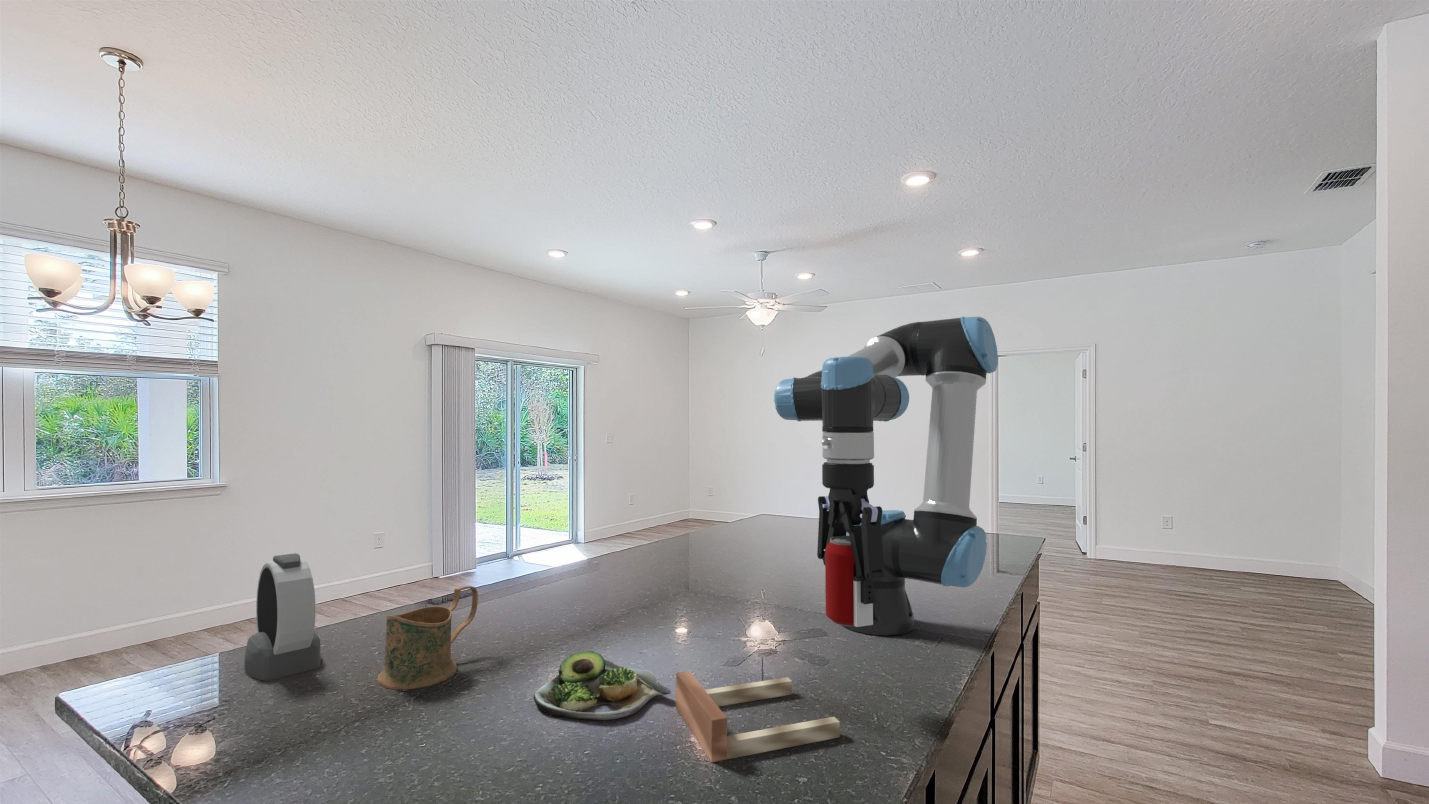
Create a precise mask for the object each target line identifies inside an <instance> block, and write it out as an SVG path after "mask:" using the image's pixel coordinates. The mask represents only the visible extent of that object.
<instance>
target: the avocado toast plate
mask: <svg viewBox="0 0 1429 804" xmlns="http://www.w3.org/2000/svg"><path fill="white" fill-rule="evenodd" d="M557 672H558V675H556V676H555V677H554V678H552V679H551V680H550V681H548V682H546V683H545V684H544V685H542V686H541V687H539V688H538V689H537V690H536V691H535V693H534V695H533V701H534V703H535V704H536V705H535V706H537V707H538V708H539V709H540V710H541V711H543V712H544V713H547V714H549V715H552V716H557V717H564V718H565V717H567V718H573V719H580V720H595V721H596V720H597V721H599V720H602V721H610V720H611V721H612V720H619V719H622V718H625V717H629V716H632V715H633V714H635V713H637V712H639V711H640V710H641V709H642V708H644V706H645V705H646V704H647V703H648V702H649V701H650V700H651V699H653V698H655V697H656V696H666V695H669V694H672V691H671V689H669V688H667V687H666V686H664V685H661V684H659V680H658V678H657V676H656V674H654V673H653V672H651V671H650V670H646V669H637V668H630V667H629V668H628V667H625V666H620V665H617V664H615V663H614V662H612V661H609V660H606V659H605V658H604V657H603V656H602V655H601V654H600V653H598V652H596V651H593V650H592V651H591V650H582V651H579V652H576V653H573V654H572V655H570V656H569V657H567V658H565V659H564V660H563V661H562V662H561V663H560V665H559V669H558V670H557ZM598 705H610V706H619V708H618V709H614V710H607V711H606V710H605V711H601V712H583V711H584V710H588V709H590V708H592V707H596V706H598Z"/></svg>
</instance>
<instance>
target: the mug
mask: <svg viewBox="0 0 1429 804" xmlns="http://www.w3.org/2000/svg"><path fill="white" fill-rule="evenodd" d="M468 589H470V590H471V596H472V597H471V598H472V601H471V608H470V611H469V614H468V617H467V618H466V619H465V621H463V622H462V623H461V624H460V625H459V626H457V628H456V629H455V630H454V631H453V632H452V618H453V617H452V613H453V611H454V610H455V609H456V608H457V606H458V603H460V602H459V601H460V596H461V592H462V591H464V590H468ZM453 591H454V593H453V594H454V595H453V600H452V602H451V604H450V605H449V607H446V606H439V605H437V606H436V605H434V606H433V605H432V606H425V607H421V608H417V609H415V610H411V611H408V612H404V613H401V614H396V615H395V614H394V615H386V618H385V619H386V621H385V622H386V625H385V626H386V628H385V631H386V632H385V646H384V651H385V652H384V653H385V657H384V668H383V669H382V670H381V671H380V672H379V674H378V676H377V683H378V684H379V686H381V687H382V688H385V689H390V690H413V689H420V688H425V687H430V686H433V685H435V684H439V683H441V682H443V681H446V680H448V679H450V678H452V676H454V675H455V673H457V664H456V662H455V661H454V660H453V659H452V658H451V657H452V656H451V654H452V653H451V651H452V650H451V649H452V648H451V647H452V644H453V643H454V642H455V640H456V639H457V637H458V635H459V634H460V633H461V632H462V631H463V630H464V629H465V628H466V627H467V626H469V624H471V622H472V621H473V620H474V618H475V615H476V613H477V609H478V603H479V593H478V590H477V588H476V587H475V586H472V585H462V586H459V587H456V588H454V589H453Z"/></svg>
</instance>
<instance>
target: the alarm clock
mask: <svg viewBox="0 0 1429 804" xmlns="http://www.w3.org/2000/svg"><path fill="white" fill-rule="evenodd" d="M314 585H315V584H314V579H313V573H312V571H311V568H310V565H309V564H308V561H306V559H304V557H301V556H300V554H299V553H296V552H295V553H287V554H278V555H274V556H273V557H272V560H271V561H267V562H265V563H264V565H263V566H262V567H261V569H260V572H259V576H258V582H257V589H256V606H255V607H256V613H255V615H256V630H257V632H256V633H254V634H252V635H251V636H249V638H248V639H247V642H246V648H245V652H244V661H243V662H244V664H243V667H244V668H243V669H244V673H246V674H247V675H248V676H249V677H251V678H254V679H256V680H261V681H271V680H275V679H280V678H283V677H287V676H291V675H296V674H300V673H303V672H307V671H311V670H315V669H317V668H319V667H320V665H321V640H320V637H319V635H318V633H317V632H316V631H315V629H316V628H315V627H316V593H315V586H314Z"/></svg>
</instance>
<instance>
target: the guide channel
mask: <svg viewBox="0 0 1429 804" xmlns="http://www.w3.org/2000/svg"><path fill="white" fill-rule="evenodd" d="M675 676H676V677H675V709H676V710H677V712H678V714H679V715H680V717H681V719H682V720H683V721H684V723H685V724H686V726H687V727H688V730H689V731H690V732H691V734H692V735H693V736H694V738H695V739H696V741H697V743H698V745H699V746H700V747H701V749H702V751H704V754H705V755H706V756H707V759H709V761H710V763H716V762H721V761H725V760H729V759H730V760H731V759H735V758H736V759H737V758H741V757H747V756H751V755H757V754H762V753H765V752H770V751H771V752H773V751H776V750H781V749H787V748H793V747H796V746H797V747H798V746H803V745H807V744H812V743H813V744H814V743H817V742H818V743H819V742H823V741H827V740H832V739H837V738H841V722H840V720H838V719H837V717H835V716H830V717H825V718H819V719H813V720H808V721H801V722H797V723H791V724H786V725H780V726H775V727H769V728H764V729H760V730H753V731H752V730H751V731H748V732H741V733H735V734H730V735H728V716H726V714H724V712H723V710H721V708H720V707H723V706H730V705H735V704H741V703H748V702H755V701H758V700H765V699H772V698H778V697H784V696H789V695H791V696H792V695H793V680H792V679H791V678H789V677H788V676H787V677H781V678H774V679H768V680H767V679H765V680H761V681H760V680H759V681H753V682H747V683H740V684H735V685H726V686H722V687H721V686H720V687H715V688H714V687H713V688H707V689H705V688H703V686H702V685H701V684H700V682H699V681H698V680H697V678H696V677H695V676H694V675H693V674H692V673H691V671H690V670H689V671H682V672H676V673H675Z"/></svg>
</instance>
